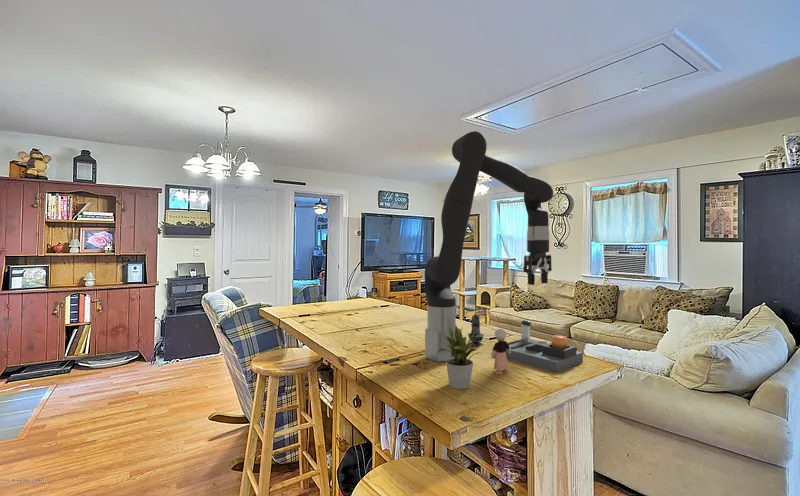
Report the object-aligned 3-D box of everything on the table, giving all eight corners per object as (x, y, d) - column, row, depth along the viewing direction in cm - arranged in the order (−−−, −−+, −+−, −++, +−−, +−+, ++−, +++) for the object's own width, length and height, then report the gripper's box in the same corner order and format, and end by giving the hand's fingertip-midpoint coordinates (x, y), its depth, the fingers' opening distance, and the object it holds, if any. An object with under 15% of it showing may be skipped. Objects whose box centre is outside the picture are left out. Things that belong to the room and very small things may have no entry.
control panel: (556, 372, 108) (556, 353, 108) (494, 355, 126) (494, 338, 126) (583, 361, 118) (583, 344, 118) (521, 347, 136) (521, 332, 136)
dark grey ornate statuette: (482, 342, 142) (482, 311, 142) (484, 346, 136) (484, 313, 136) (467, 342, 143) (467, 310, 143) (468, 346, 137) (468, 313, 137)
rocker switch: (538, 343, 119) (538, 340, 119) (527, 341, 122) (528, 338, 122) (546, 344, 122) (546, 341, 122) (536, 342, 125) (536, 339, 125)
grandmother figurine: (501, 368, 112) (501, 326, 112) (513, 371, 110) (513, 328, 109) (487, 374, 107) (487, 330, 107) (499, 377, 104) (499, 332, 104)
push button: (562, 349, 113) (562, 339, 113) (548, 346, 117) (548, 336, 117) (569, 347, 116) (569, 337, 116) (556, 344, 119) (556, 334, 119)
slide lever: (529, 343, 129) (529, 322, 129) (520, 341, 131) (520, 320, 131) (532, 342, 130) (532, 321, 130) (523, 340, 133) (523, 319, 133)
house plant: (418, 380, 102) (418, 320, 102) (458, 372, 109) (458, 316, 109) (450, 398, 90) (450, 330, 89) (493, 388, 96) (493, 324, 96)
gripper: (539, 239, 142) (539, 282, 142) (517, 239, 133) (517, 284, 133) (558, 239, 136) (558, 283, 136) (536, 238, 127) (536, 286, 128)
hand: (537, 284), depth 135 cm, fingers open, 8 cm apart
